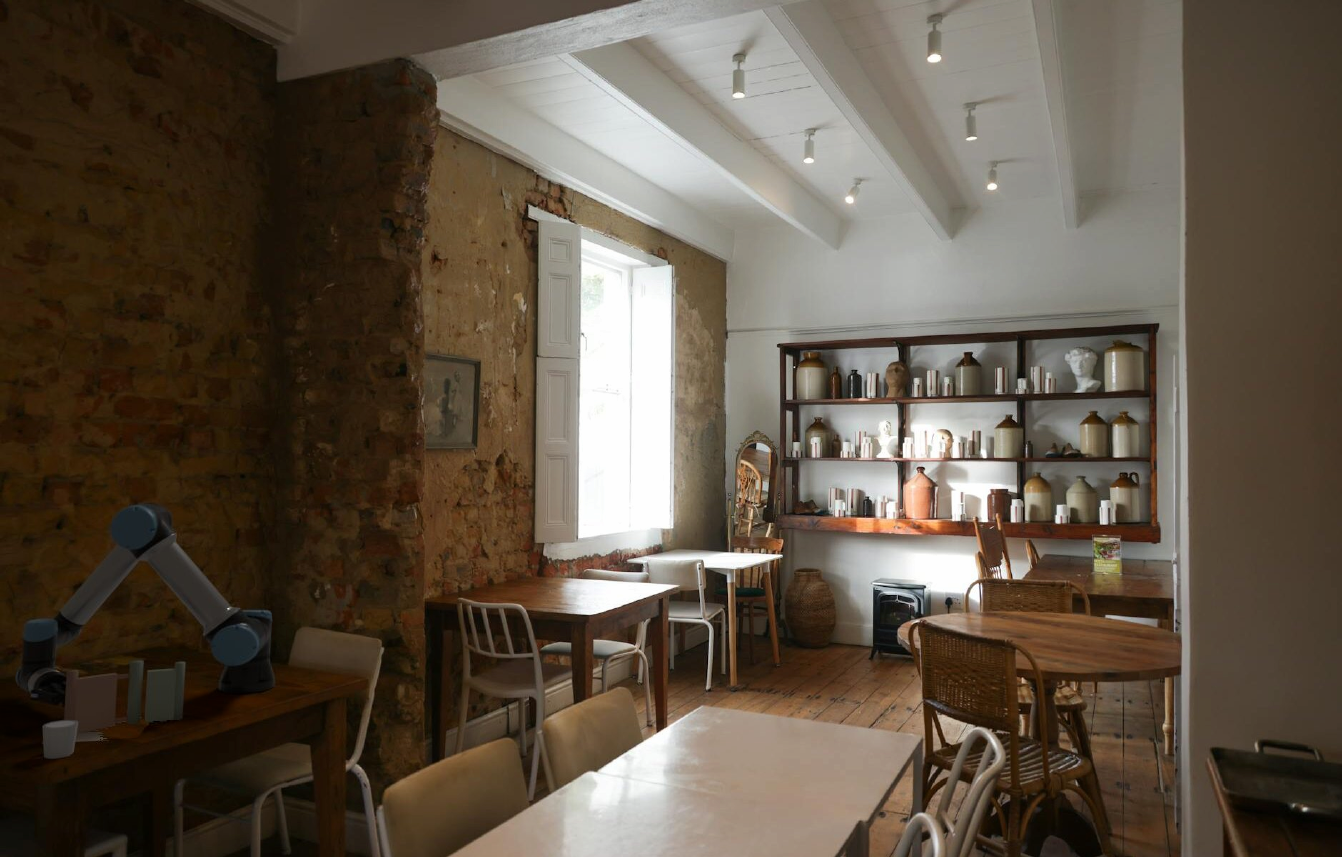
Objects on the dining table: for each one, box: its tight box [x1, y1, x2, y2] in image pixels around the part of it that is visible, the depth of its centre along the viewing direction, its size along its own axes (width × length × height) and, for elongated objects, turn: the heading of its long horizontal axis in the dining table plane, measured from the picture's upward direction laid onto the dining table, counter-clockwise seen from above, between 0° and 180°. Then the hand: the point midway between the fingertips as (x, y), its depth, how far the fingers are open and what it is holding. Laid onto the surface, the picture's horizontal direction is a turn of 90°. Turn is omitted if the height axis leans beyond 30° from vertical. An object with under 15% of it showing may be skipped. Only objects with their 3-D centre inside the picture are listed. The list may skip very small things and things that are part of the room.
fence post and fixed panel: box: [126, 659, 186, 724], centre depth 228 cm, size 12×3×16 cm, turn 118°
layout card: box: [41, 728, 108, 745], centre depth 220 cm, size 20×18×1 cm
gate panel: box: [63, 669, 129, 733], centre depth 220 cm, size 13×2×15 cm, turn 138°
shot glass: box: [42, 719, 78, 760], centre depth 203 cm, size 7×7×7 cm
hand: (82, 703), depth 218 cm, fingers closed
